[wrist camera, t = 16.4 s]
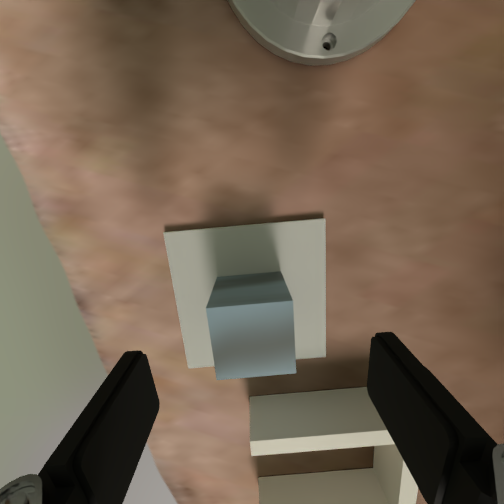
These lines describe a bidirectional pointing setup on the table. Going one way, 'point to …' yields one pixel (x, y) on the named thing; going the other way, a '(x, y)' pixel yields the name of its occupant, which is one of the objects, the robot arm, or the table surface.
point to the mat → (250, 262)
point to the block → (251, 326)
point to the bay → (328, 448)
